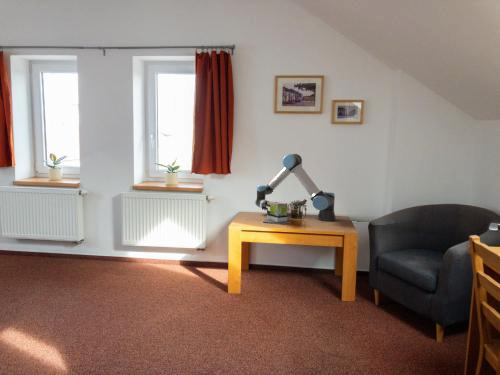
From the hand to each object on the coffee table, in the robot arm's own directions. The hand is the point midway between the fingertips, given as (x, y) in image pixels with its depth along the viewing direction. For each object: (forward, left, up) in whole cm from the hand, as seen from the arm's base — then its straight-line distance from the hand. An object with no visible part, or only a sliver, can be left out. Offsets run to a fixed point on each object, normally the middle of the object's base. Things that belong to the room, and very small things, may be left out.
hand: (277, 208), depth 321 cm
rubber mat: (+1, -1, -11) cm, 11 cm away
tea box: (+1, -1, -10) cm, 10 cm away
